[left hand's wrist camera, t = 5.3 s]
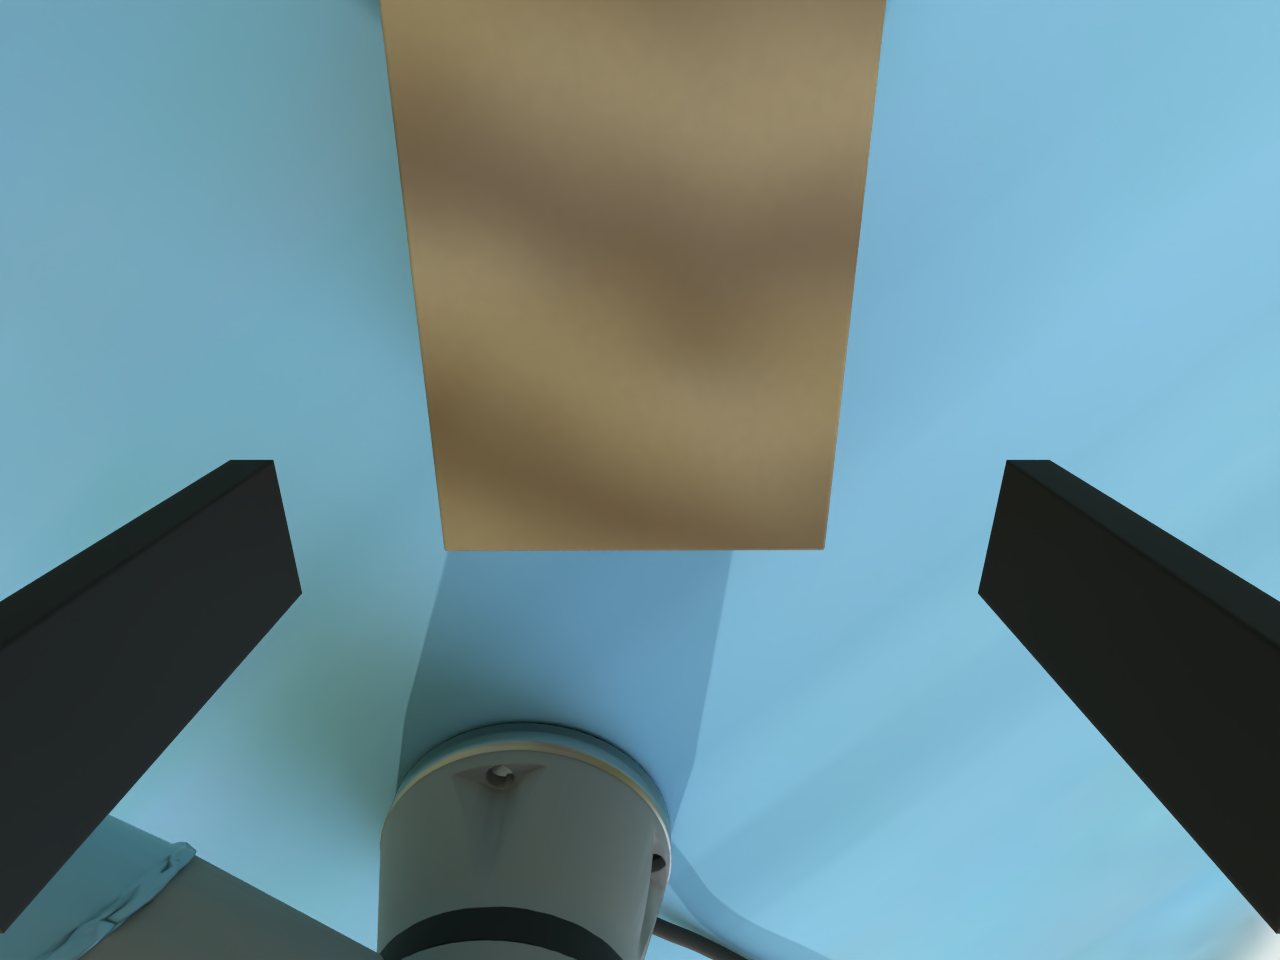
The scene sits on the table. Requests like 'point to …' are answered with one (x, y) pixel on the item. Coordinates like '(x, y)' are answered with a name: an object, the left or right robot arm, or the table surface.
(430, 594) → the table surface
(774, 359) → the tan cardboard box
